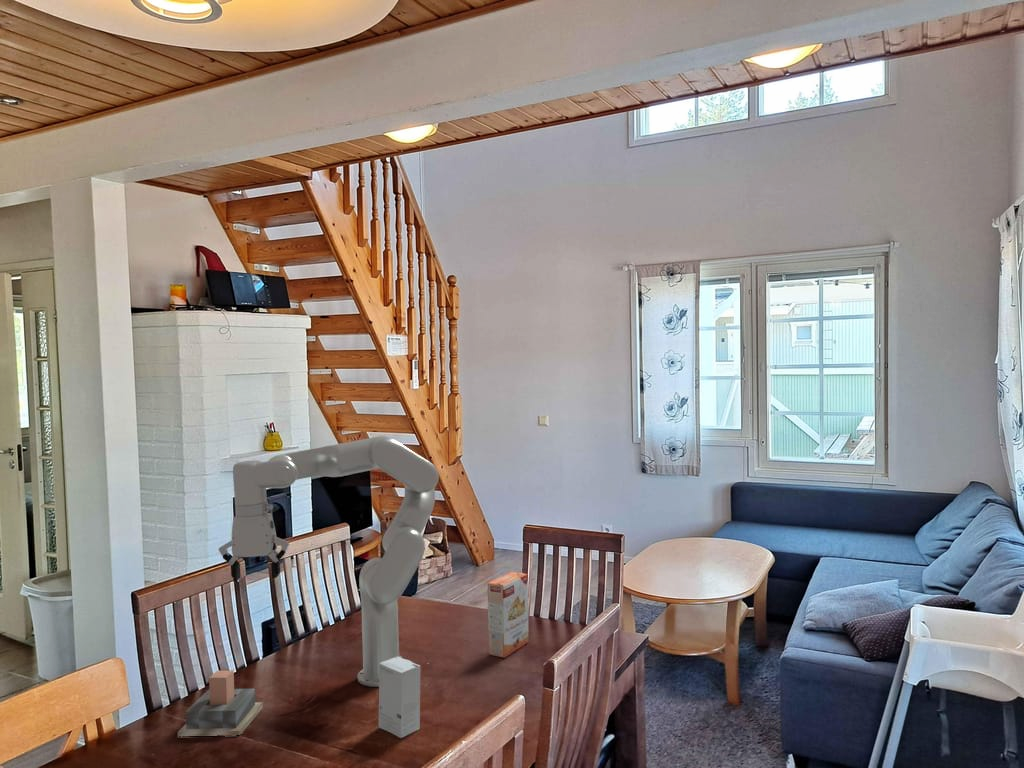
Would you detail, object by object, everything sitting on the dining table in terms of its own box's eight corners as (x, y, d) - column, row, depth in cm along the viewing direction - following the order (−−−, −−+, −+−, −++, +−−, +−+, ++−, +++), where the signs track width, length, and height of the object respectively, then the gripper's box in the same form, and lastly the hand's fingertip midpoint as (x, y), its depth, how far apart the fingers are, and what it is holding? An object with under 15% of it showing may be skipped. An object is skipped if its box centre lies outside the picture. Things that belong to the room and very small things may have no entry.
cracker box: (505, 659, 195) (503, 585, 195) (487, 655, 198) (485, 582, 199) (530, 642, 207) (528, 573, 207) (513, 639, 210) (511, 570, 210)
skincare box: (378, 728, 158) (376, 663, 158) (398, 718, 162) (396, 654, 162) (402, 739, 152) (400, 672, 152) (422, 728, 157) (421, 663, 157)
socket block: (262, 707, 170) (262, 686, 170) (239, 736, 156) (238, 713, 156) (206, 708, 170) (205, 687, 170) (177, 737, 156) (177, 714, 156)
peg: (234, 712, 165) (233, 670, 165) (227, 720, 161) (226, 677, 161) (218, 712, 165) (217, 670, 165) (210, 720, 161) (209, 677, 161)
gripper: (290, 505, 177) (295, 571, 177) (222, 509, 177) (227, 576, 177) (281, 511, 170) (286, 580, 170) (210, 515, 169) (215, 585, 170)
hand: (256, 578), depth 174 cm, fingers open, 9 cm apart
